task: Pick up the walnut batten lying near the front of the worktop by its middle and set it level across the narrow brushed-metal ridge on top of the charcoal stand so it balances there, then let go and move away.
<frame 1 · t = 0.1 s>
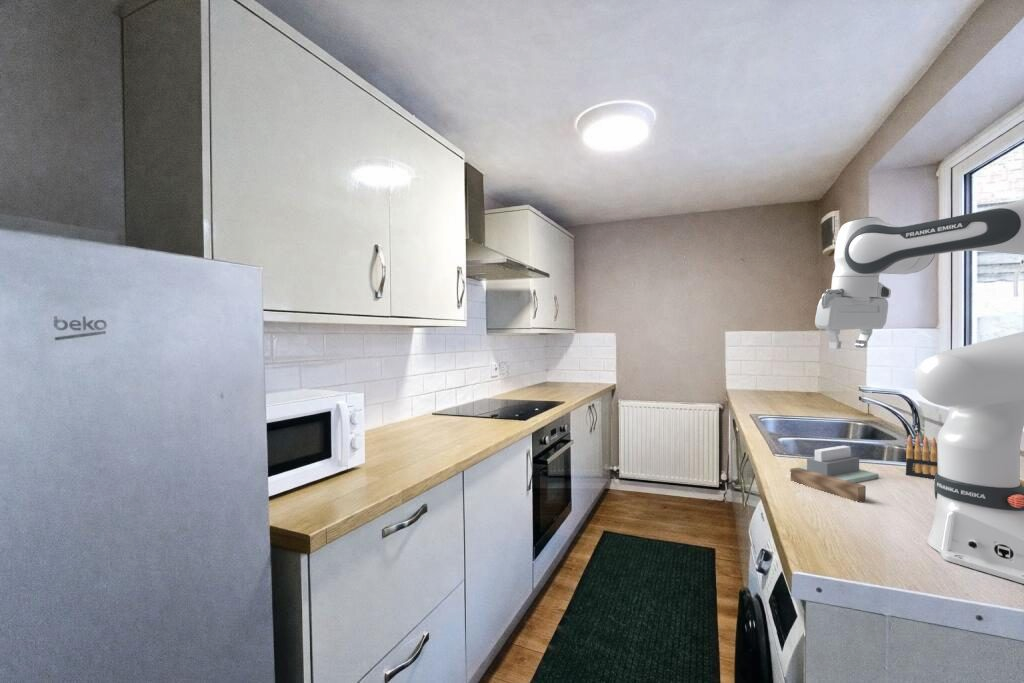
hand: (848, 348, 109), 39 cm above the counter, tool pointing down, fingers open, 8 cm apart
ridge stand: (833, 475, 136), on the counter
walnut batten: (825, 491, 123), on the counter
ammunition clip: (930, 478, 132), on the counter
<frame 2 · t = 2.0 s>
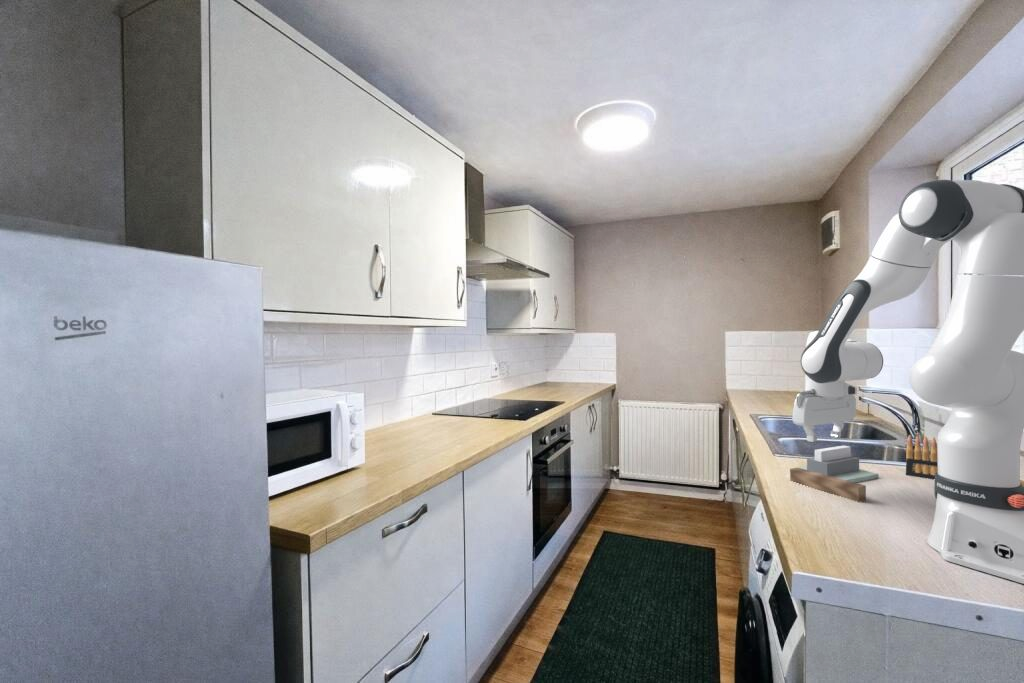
hand: (823, 439, 124), 14 cm above the counter, tool pointing down, fingers open, 8 cm apart
nothing on the counter moved.
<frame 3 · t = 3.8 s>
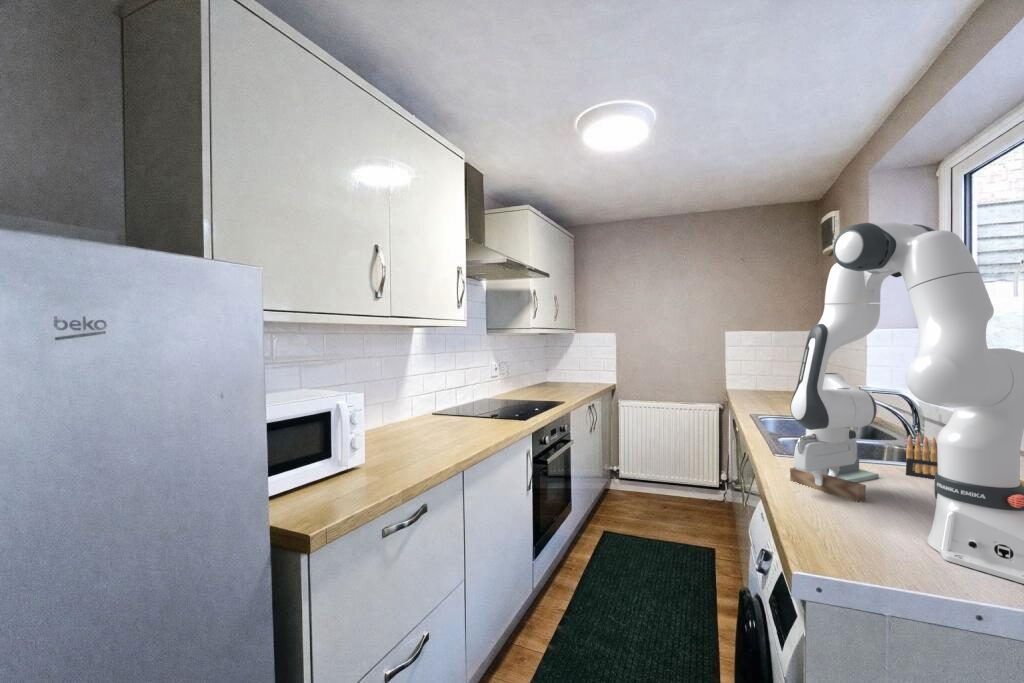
hand: (825, 483, 123), 2 cm above the counter, tool pointing down, fingers closed on walnut batten, 3 cm apart
walnut batten: (825, 490, 123), on the counter, touching gripper
everything else where it was.
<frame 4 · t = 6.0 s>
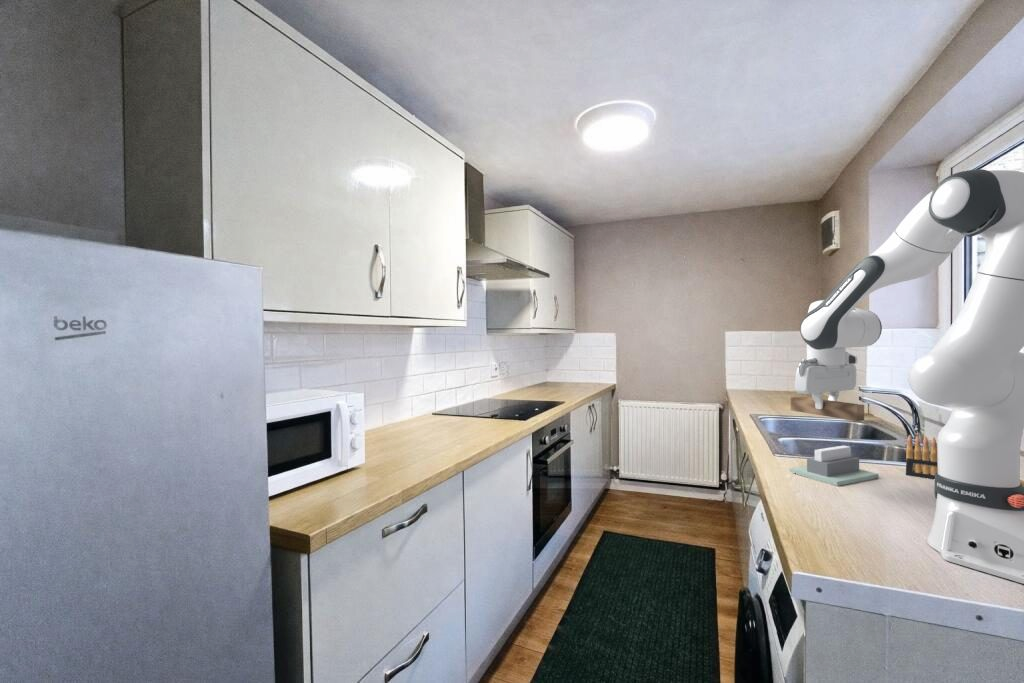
hand: (825, 408, 126), 22 cm above the counter, tool pointing down, fingers closed on walnut batten, 3 cm apart
walnut batten: (825, 415, 126), point 20 cm above the counter, touching gripper
everything else where it was.
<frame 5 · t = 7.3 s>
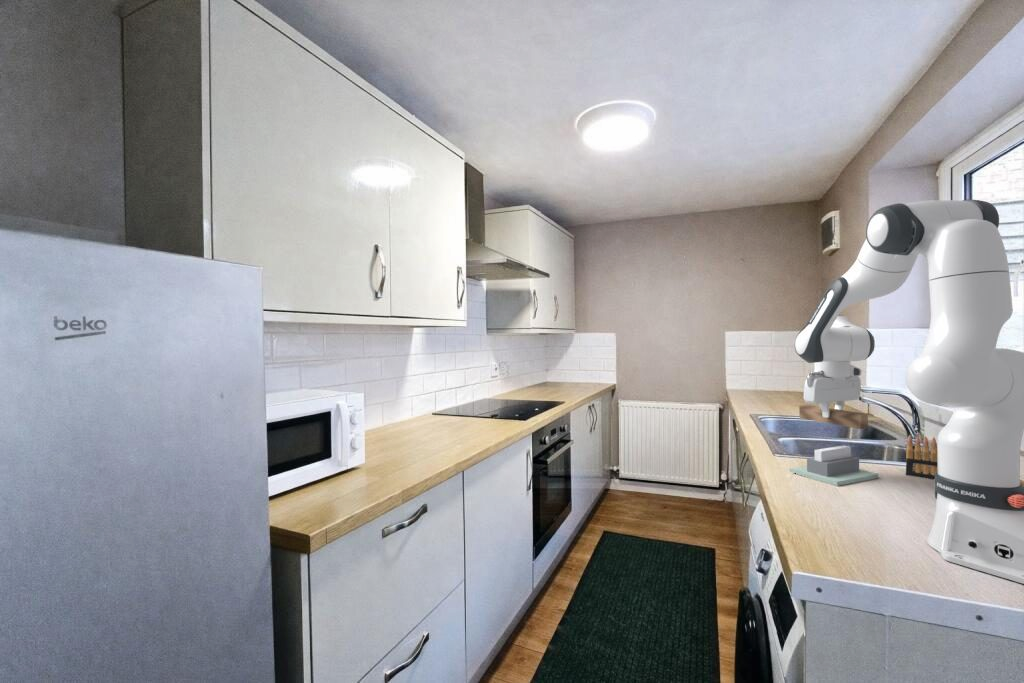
hand: (832, 416, 136), 17 cm above the counter, tool pointing down, fingers closed on walnut batten, 3 cm apart
walnut batten: (831, 422, 136), point 16 cm above the counter, touching gripper
everything else where it was.
when the fingers open (11 cm above the counter, at t = 8.5 s): walnut batten drops 1 cm, resting on ridge stand.
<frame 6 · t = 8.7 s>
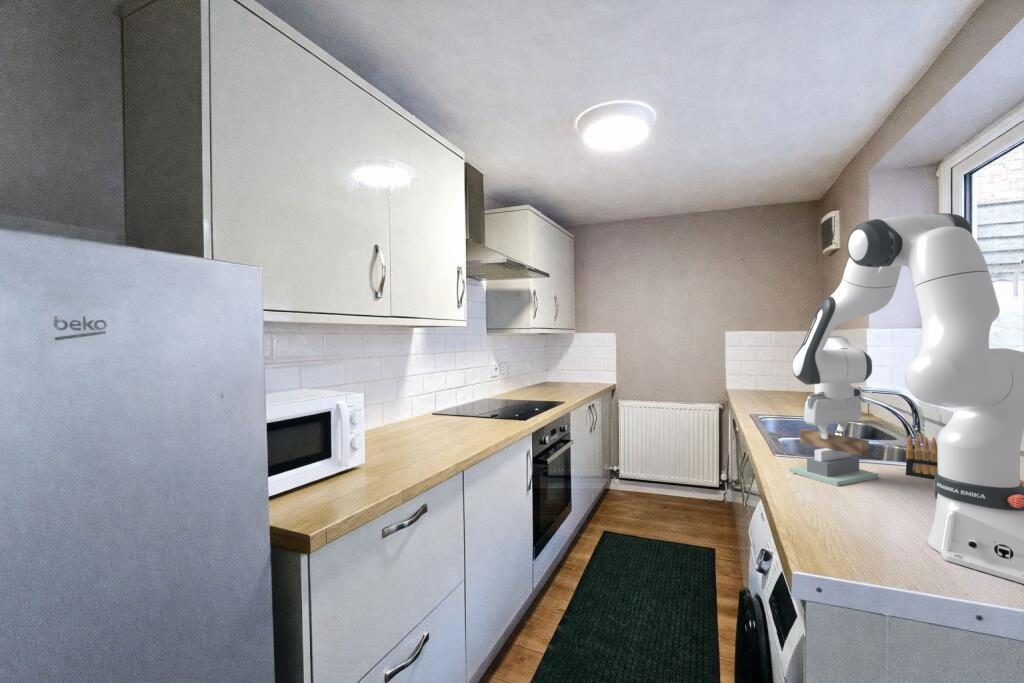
hand: (832, 437, 136), 11 cm above the counter, tool pointing down, fingers open, 5 cm apart
walnut batten: (832, 448, 136), point 8 cm above the counter, touching ridge stand
everything else where it was.
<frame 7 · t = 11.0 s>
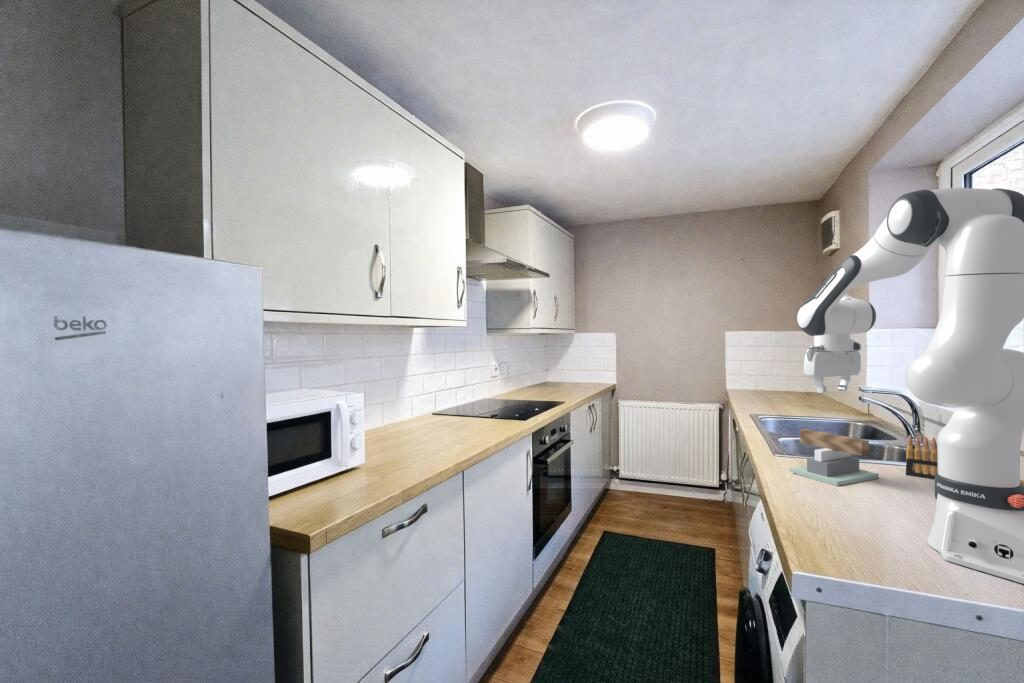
hand: (832, 391, 136), 25 cm above the counter, tool pointing down, fingers open, 8 cm apart
nothing on the counter moved.
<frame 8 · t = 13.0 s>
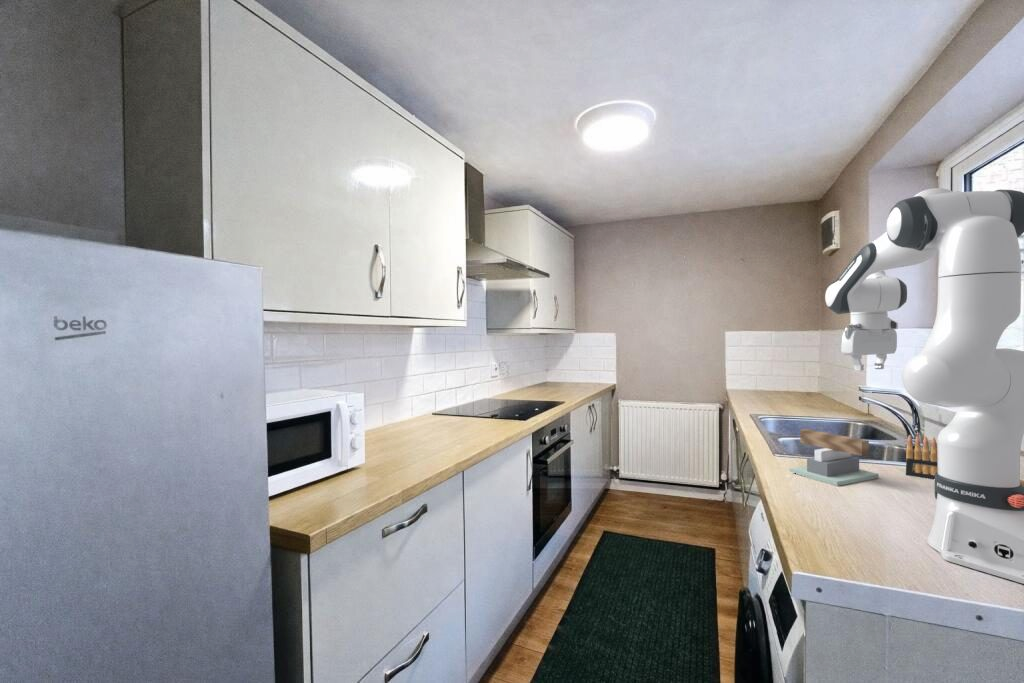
hand: (869, 369, 138), 31 cm above the counter, tool pointing down, fingers open, 8 cm apart
nothing on the counter moved.
at the end: walnut batten inside the target area on the ridge stand (0.0 cm from its centre), point 8.0 cm above the ridge stand's base; walnut batten tilted 0°; the gripper is holding nothing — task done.
